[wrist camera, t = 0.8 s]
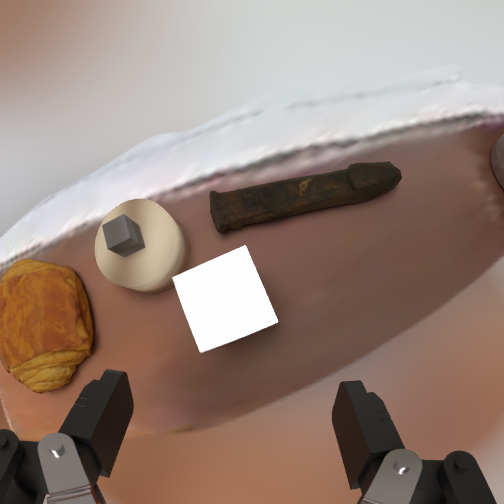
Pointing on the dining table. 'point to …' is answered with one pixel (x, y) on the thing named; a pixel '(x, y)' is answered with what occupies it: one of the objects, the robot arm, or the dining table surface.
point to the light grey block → (224, 300)
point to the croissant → (43, 324)
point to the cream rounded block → (141, 247)
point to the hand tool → (302, 194)
